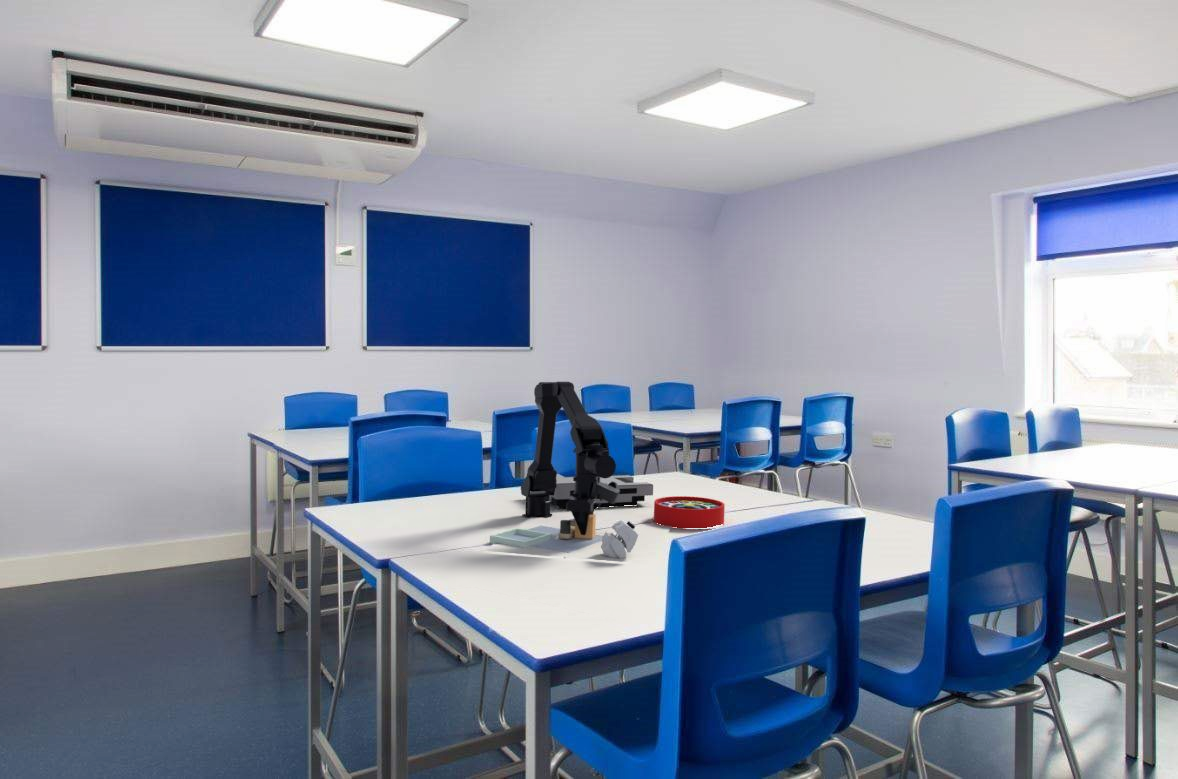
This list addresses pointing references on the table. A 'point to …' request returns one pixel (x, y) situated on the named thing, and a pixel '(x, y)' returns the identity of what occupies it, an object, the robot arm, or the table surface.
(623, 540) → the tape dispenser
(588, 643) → the table surface
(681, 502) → the toy clock
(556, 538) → the crank base
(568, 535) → the crank
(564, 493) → the office tray
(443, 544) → the table surface
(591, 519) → the block
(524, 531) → the tray
